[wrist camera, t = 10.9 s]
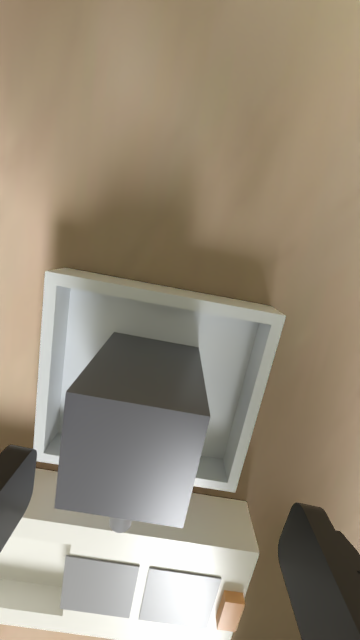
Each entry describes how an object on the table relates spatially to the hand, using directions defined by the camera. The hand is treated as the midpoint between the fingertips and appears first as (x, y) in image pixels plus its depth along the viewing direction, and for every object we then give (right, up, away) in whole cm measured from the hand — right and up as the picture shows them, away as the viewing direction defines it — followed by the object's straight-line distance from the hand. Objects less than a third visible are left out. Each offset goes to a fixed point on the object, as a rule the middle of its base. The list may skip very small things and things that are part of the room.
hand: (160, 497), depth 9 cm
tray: (-1, +2, +9) cm, 9 cm away
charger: (-1, +2, +8) cm, 9 cm away
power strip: (-5, -10, +12) cm, 16 cm away
